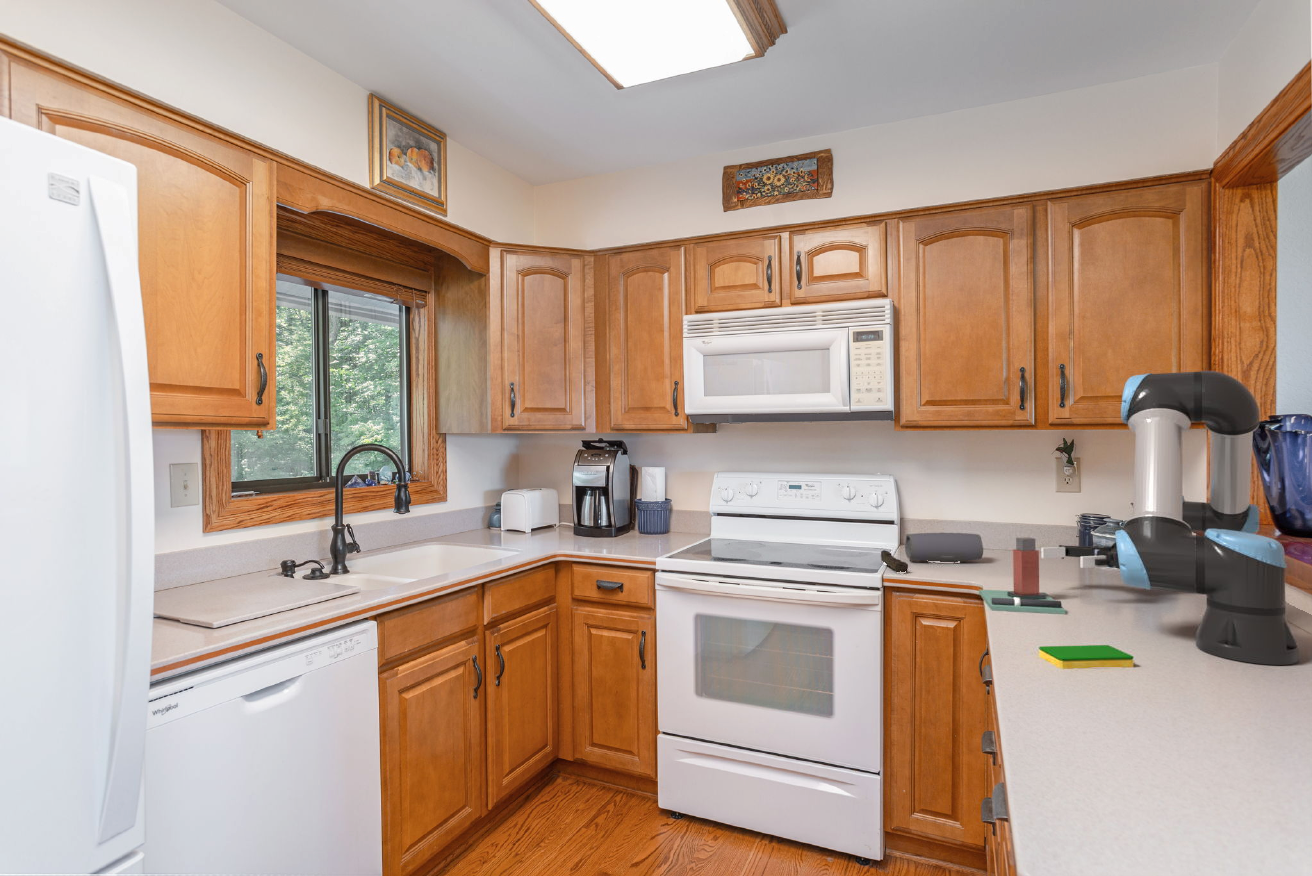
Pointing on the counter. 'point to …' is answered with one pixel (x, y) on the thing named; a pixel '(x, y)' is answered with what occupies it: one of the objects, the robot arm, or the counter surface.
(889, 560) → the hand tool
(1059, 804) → the counter surface
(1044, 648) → the dish sponge
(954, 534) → the bluetooth speaker
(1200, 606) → the counter surface
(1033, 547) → the grey-capped red pillar
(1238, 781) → the counter surface
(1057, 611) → the cutting mat
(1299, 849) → the counter surface
